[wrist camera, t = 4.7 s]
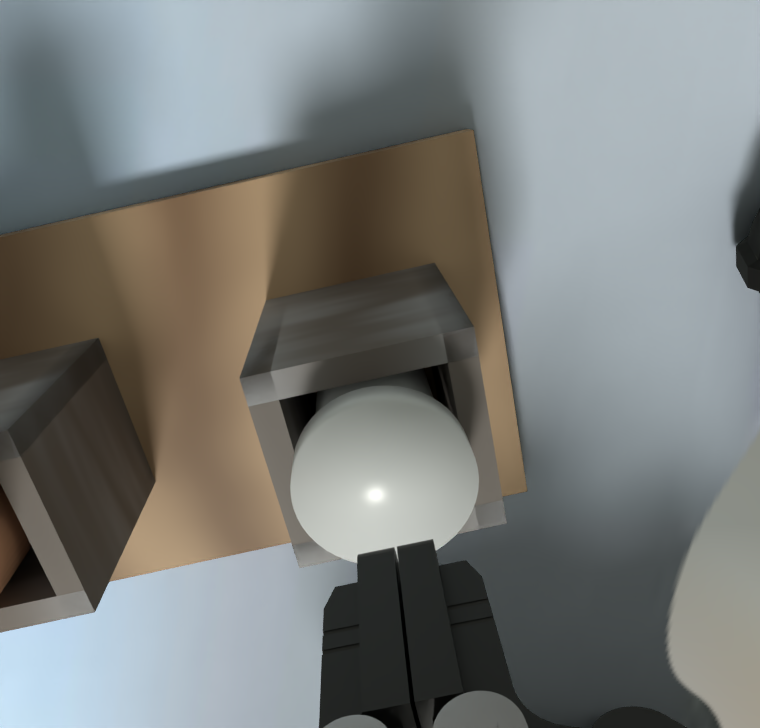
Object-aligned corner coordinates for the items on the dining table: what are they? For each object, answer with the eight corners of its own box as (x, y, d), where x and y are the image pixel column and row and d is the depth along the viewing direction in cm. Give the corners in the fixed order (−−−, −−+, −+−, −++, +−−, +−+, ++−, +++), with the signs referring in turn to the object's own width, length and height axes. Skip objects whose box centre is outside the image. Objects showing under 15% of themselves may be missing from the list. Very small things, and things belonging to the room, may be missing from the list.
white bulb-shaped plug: (421, 291, 23) (462, 383, 15) (444, 409, 24) (491, 544, 17) (289, 320, 23) (268, 426, 15) (321, 436, 25) (316, 582, 17)
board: (467, 128, 22) (533, 143, 15) (520, 478, 28) (589, 616, 20) (-160, 270, 23) (-398, 353, 15) (8, 589, 28) (-108, 764, 21)
